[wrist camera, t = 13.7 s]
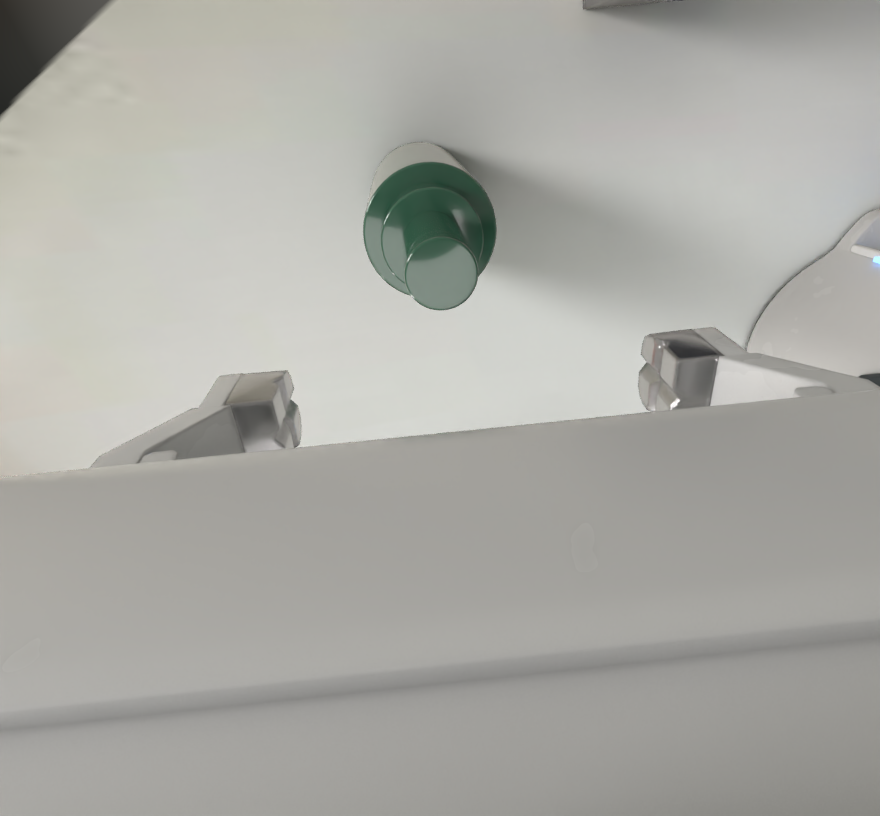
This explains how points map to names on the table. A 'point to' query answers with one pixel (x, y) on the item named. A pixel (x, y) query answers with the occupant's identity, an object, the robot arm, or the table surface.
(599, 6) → the bin
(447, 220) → the bottle
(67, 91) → the table surface
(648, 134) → the table surface
